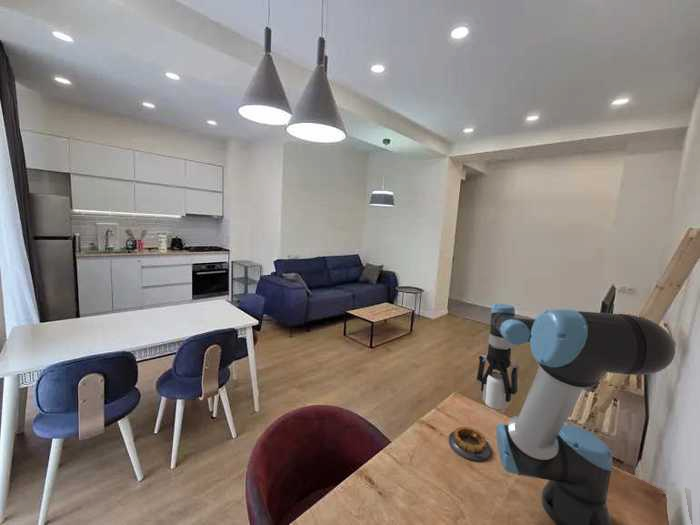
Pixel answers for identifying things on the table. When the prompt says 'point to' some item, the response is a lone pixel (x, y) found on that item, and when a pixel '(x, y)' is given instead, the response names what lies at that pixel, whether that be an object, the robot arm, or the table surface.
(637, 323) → the robot arm
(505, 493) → the table surface
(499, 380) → the can
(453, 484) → the table surface
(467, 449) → the grey and gold ring
